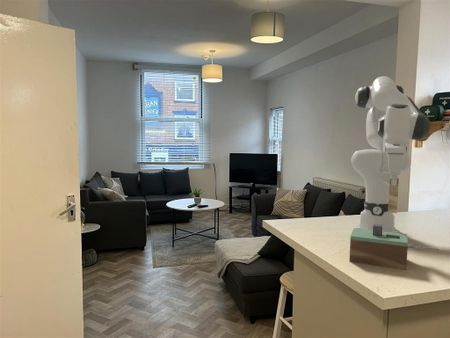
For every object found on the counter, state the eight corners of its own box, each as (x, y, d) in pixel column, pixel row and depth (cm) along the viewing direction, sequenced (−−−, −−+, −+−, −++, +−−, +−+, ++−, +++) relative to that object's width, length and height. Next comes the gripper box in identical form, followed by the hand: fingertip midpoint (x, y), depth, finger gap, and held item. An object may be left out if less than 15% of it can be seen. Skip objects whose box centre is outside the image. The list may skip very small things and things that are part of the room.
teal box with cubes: (353, 233, 136) (354, 219, 136) (406, 239, 129) (407, 224, 128) (350, 242, 125) (351, 226, 125) (407, 249, 118) (408, 232, 117)
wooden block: (388, 210, 137) (389, 177, 136) (396, 211, 136) (398, 177, 135) (387, 212, 135) (389, 178, 133) (396, 213, 133) (398, 178, 132)
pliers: (437, 253, 135) (394, 245, 144) (437, 257, 136) (394, 249, 144) (438, 246, 144) (398, 240, 152) (438, 250, 144) (397, 243, 152)
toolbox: (352, 253, 137) (353, 231, 136) (404, 261, 129) (406, 237, 129) (349, 264, 126) (350, 239, 125) (406, 272, 119) (407, 246, 118)
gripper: (386, 146, 144) (385, 180, 145) (386, 148, 125) (384, 187, 127) (404, 147, 141) (402, 181, 142) (406, 148, 123) (404, 188, 124)
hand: (393, 184), depth 134 cm, fingers closed on wooden block, 3 cm apart
